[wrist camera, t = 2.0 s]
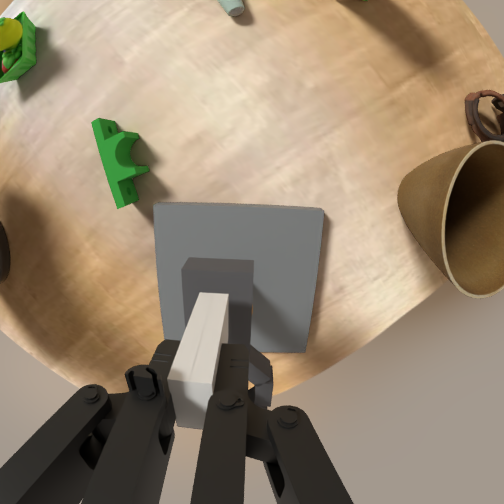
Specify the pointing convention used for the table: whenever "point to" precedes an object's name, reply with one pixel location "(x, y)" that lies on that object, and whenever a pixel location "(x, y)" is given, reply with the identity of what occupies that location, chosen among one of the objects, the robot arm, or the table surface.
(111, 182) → the pipe clamp
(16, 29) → the fruit basket
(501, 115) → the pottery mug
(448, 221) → the plant pot
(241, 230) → the pipe stand
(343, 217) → the table surface
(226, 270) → the collar
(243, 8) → the flashlight
